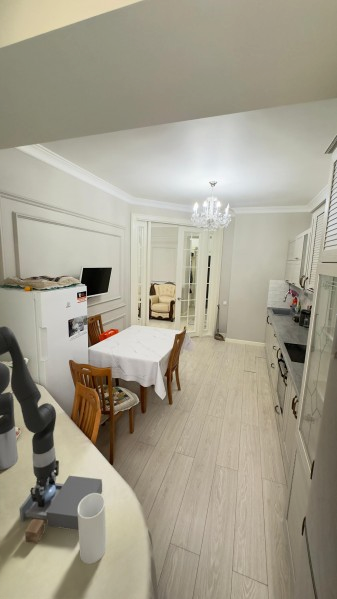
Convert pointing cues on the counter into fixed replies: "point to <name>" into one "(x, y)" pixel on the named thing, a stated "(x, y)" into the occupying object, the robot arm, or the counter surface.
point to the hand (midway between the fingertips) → (47, 497)
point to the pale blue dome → (49, 492)
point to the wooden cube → (34, 531)
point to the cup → (92, 527)
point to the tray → (32, 507)
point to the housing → (71, 501)
